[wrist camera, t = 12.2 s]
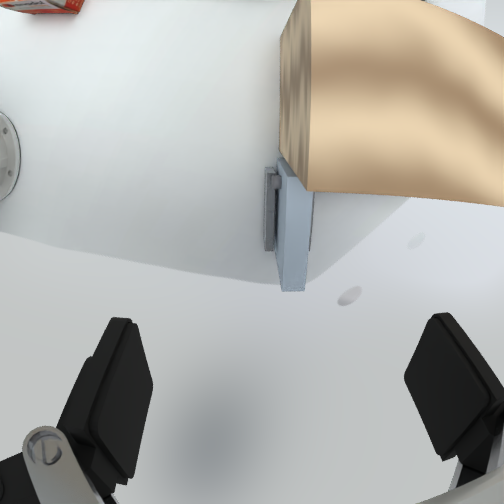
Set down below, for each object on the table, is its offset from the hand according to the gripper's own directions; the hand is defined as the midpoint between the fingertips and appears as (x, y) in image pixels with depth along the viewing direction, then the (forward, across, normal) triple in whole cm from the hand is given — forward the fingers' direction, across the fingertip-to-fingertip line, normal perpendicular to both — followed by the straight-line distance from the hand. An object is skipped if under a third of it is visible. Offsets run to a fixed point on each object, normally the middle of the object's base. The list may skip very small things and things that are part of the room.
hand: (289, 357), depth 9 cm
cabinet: (+25, -10, -9) cm, 28 cm away
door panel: (+25, -3, +3) cm, 25 cm away
